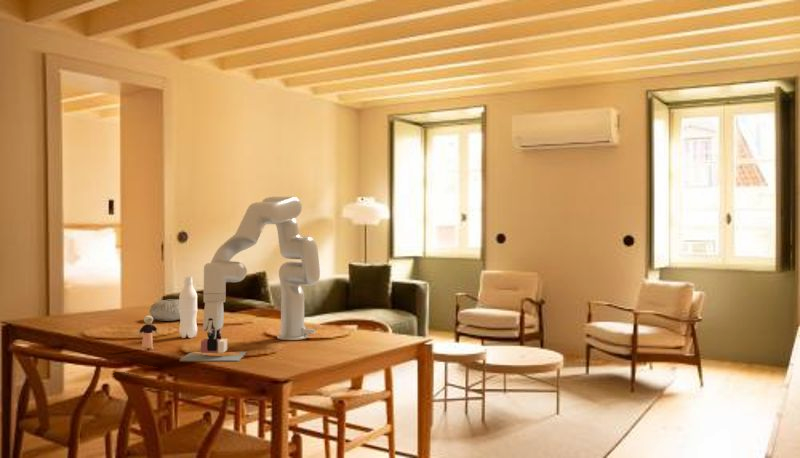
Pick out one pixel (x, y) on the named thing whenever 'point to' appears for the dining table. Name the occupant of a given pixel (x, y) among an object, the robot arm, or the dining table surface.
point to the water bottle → (188, 310)
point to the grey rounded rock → (166, 310)
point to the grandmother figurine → (147, 333)
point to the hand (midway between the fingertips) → (214, 348)
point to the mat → (212, 357)
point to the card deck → (220, 346)
